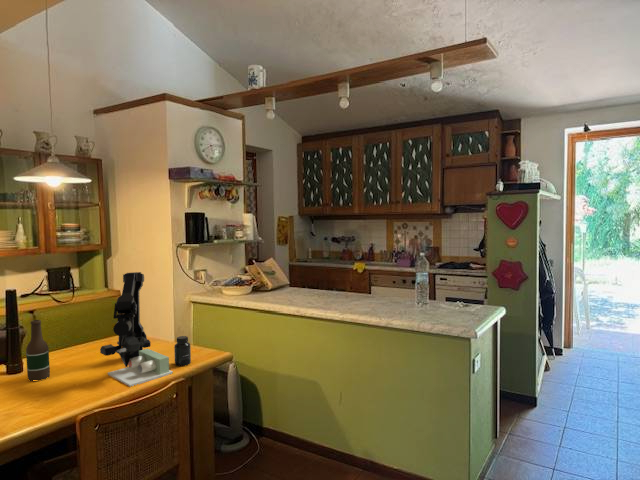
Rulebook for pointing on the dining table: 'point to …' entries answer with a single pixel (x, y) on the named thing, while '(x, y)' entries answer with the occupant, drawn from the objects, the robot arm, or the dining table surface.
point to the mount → (135, 377)
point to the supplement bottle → (182, 351)
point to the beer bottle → (37, 354)
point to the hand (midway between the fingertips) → (126, 366)
